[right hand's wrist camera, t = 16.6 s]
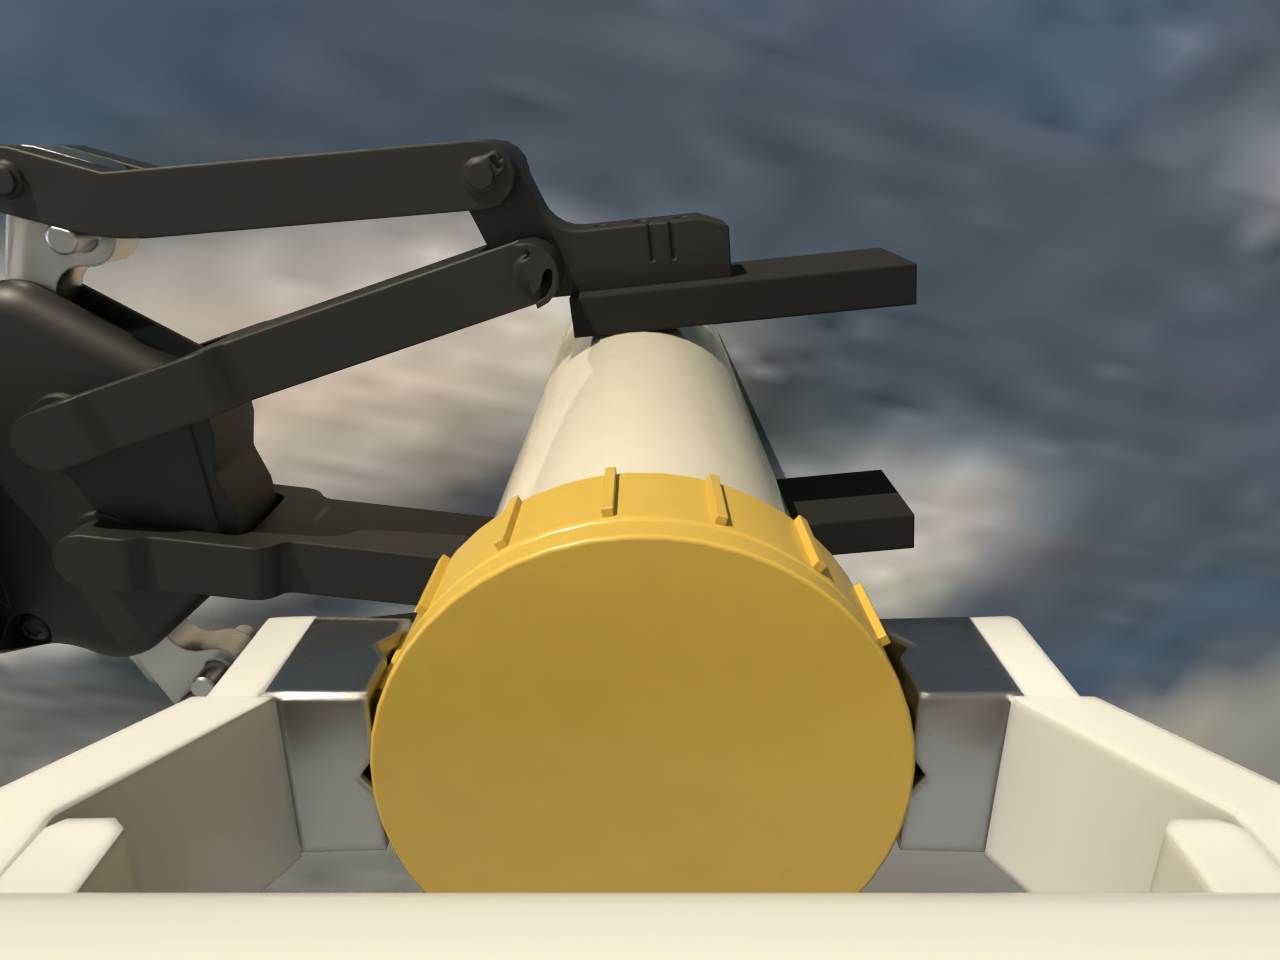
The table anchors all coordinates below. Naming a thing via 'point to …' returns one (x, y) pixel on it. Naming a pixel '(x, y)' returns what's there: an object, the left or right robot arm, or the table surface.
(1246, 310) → the table surface
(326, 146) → the table surface
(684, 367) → the jar
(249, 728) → the right robot arm
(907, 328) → the table surface
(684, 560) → the lid
